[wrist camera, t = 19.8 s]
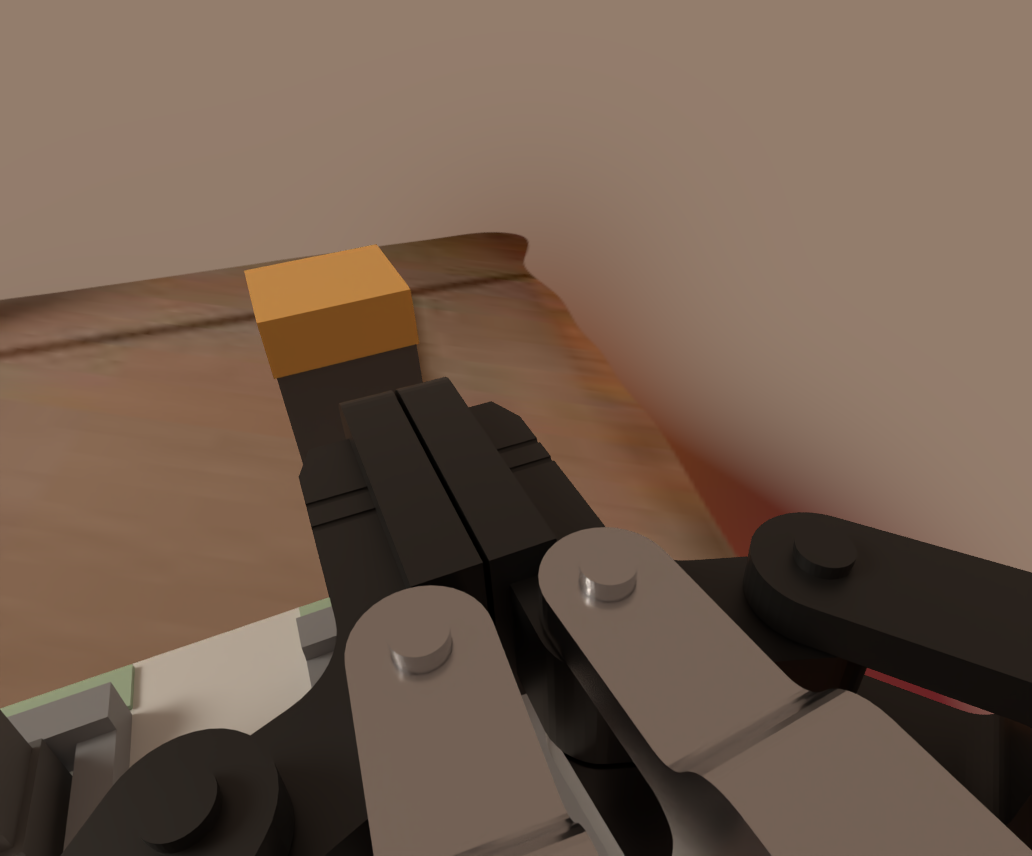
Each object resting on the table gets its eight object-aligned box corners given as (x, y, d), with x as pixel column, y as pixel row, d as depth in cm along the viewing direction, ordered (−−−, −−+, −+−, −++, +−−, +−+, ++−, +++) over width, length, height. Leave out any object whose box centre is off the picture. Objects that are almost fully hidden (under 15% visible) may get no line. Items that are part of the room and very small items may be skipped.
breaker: (485, 708, 20) (420, 290, 12) (382, 750, 19) (248, 328, 12) (452, 630, 22) (382, 240, 15) (359, 665, 21) (236, 270, 14)
